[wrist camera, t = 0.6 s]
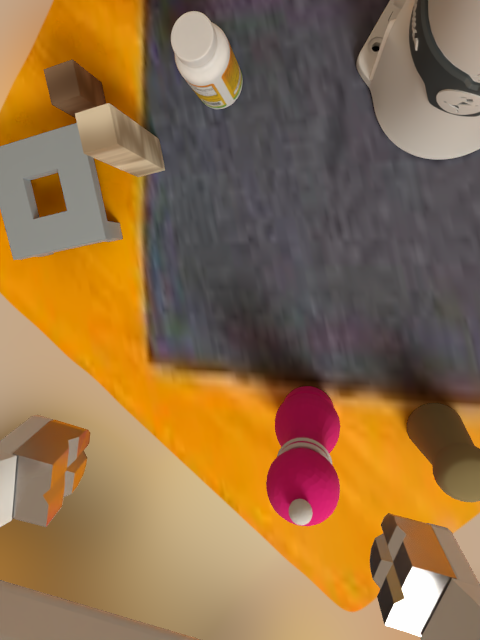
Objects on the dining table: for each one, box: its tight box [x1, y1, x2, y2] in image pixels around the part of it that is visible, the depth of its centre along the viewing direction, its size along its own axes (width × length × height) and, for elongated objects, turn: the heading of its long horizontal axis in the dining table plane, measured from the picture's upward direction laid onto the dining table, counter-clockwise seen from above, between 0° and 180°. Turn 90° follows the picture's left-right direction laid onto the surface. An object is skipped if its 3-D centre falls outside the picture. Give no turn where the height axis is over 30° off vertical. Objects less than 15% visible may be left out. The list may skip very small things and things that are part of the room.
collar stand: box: [0, 123, 123, 260], centre depth 46 cm, size 13×13×4 cm
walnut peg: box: [44, 60, 106, 118], centre depth 43 cm, size 4×4×6 cm
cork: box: [407, 403, 480, 502], centre depth 38 cm, size 6×6×11 cm
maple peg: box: [75, 103, 165, 177], centre depth 40 cm, size 4×4×11 cm
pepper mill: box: [266, 386, 340, 526], centre depth 37 cm, size 7×7×20 cm
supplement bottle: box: [171, 11, 243, 109], centre depth 37 cm, size 5×5×10 cm
